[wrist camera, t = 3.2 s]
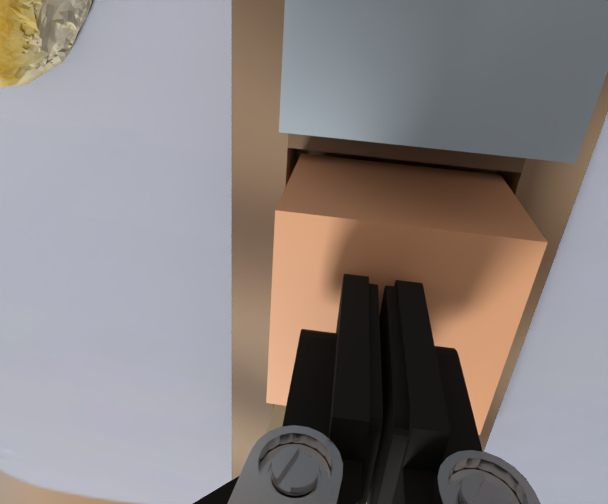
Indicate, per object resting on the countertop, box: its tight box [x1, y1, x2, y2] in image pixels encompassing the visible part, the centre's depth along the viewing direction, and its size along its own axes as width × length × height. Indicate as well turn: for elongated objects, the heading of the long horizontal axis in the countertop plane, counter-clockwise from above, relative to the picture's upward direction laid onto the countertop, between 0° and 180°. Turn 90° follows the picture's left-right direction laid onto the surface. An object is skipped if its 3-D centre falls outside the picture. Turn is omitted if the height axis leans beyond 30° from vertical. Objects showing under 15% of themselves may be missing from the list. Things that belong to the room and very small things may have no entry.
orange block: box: [266, 153, 548, 435], centre depth 13 cm, size 5×5×4 cm
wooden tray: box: [232, 0, 608, 480], centre depth 15 cm, size 22×9×3 cm, turn 176°
